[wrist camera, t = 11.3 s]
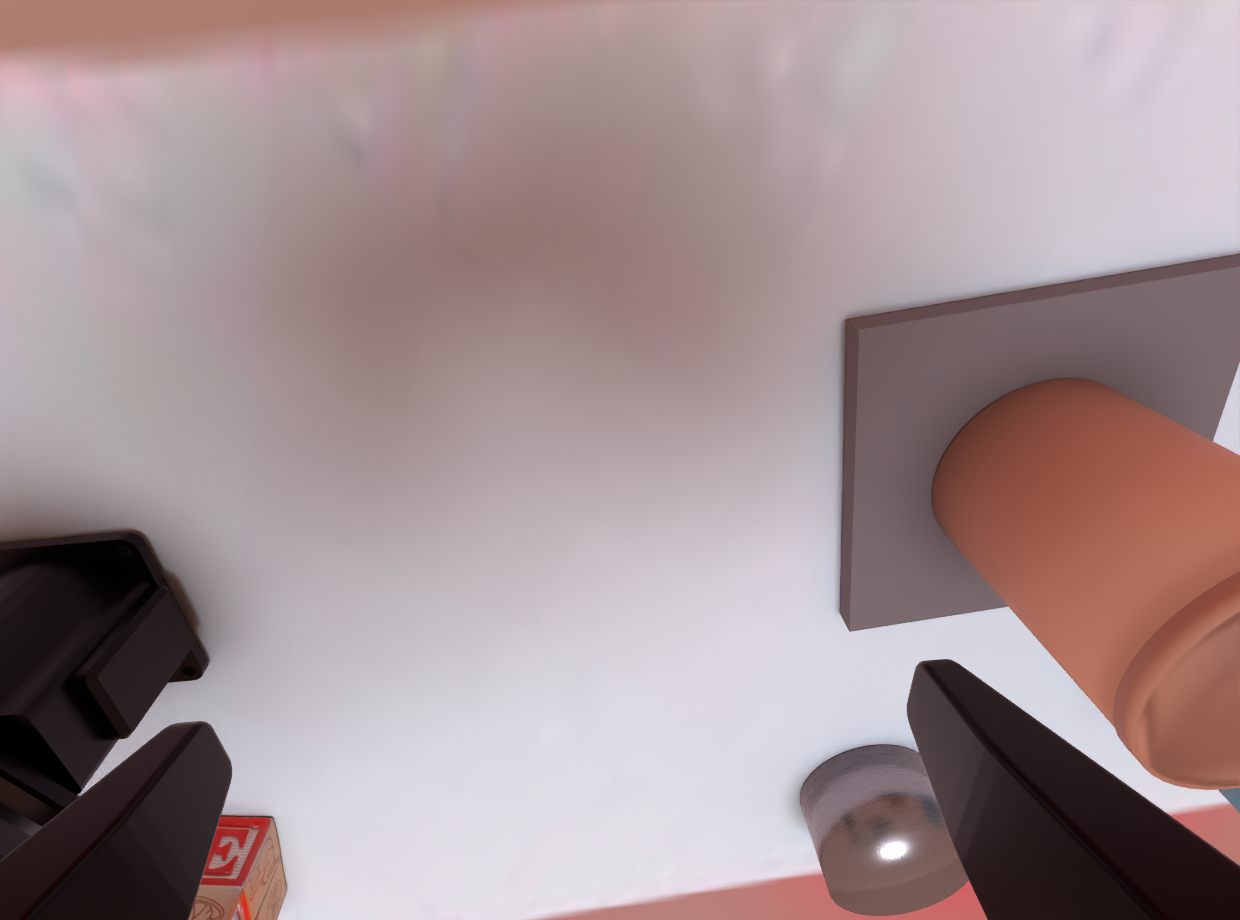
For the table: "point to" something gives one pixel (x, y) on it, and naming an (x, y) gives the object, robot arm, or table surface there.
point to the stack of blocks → (242, 873)
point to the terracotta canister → (1113, 561)
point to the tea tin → (880, 832)
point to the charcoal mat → (987, 371)
